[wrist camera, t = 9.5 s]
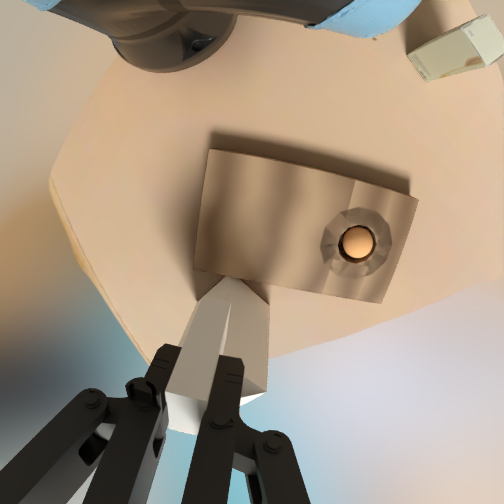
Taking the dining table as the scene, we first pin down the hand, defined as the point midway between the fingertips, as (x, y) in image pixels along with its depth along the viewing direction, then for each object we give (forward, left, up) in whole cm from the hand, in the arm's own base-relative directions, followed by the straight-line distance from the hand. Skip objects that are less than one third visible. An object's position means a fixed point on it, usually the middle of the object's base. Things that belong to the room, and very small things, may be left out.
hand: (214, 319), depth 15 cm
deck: (0, +7, -20) cm, 21 cm away
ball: (0, +13, -18) cm, 22 cm away
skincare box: (-26, +18, -20) cm, 38 cm away
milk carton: (+12, 0, -20) cm, 23 cm away
